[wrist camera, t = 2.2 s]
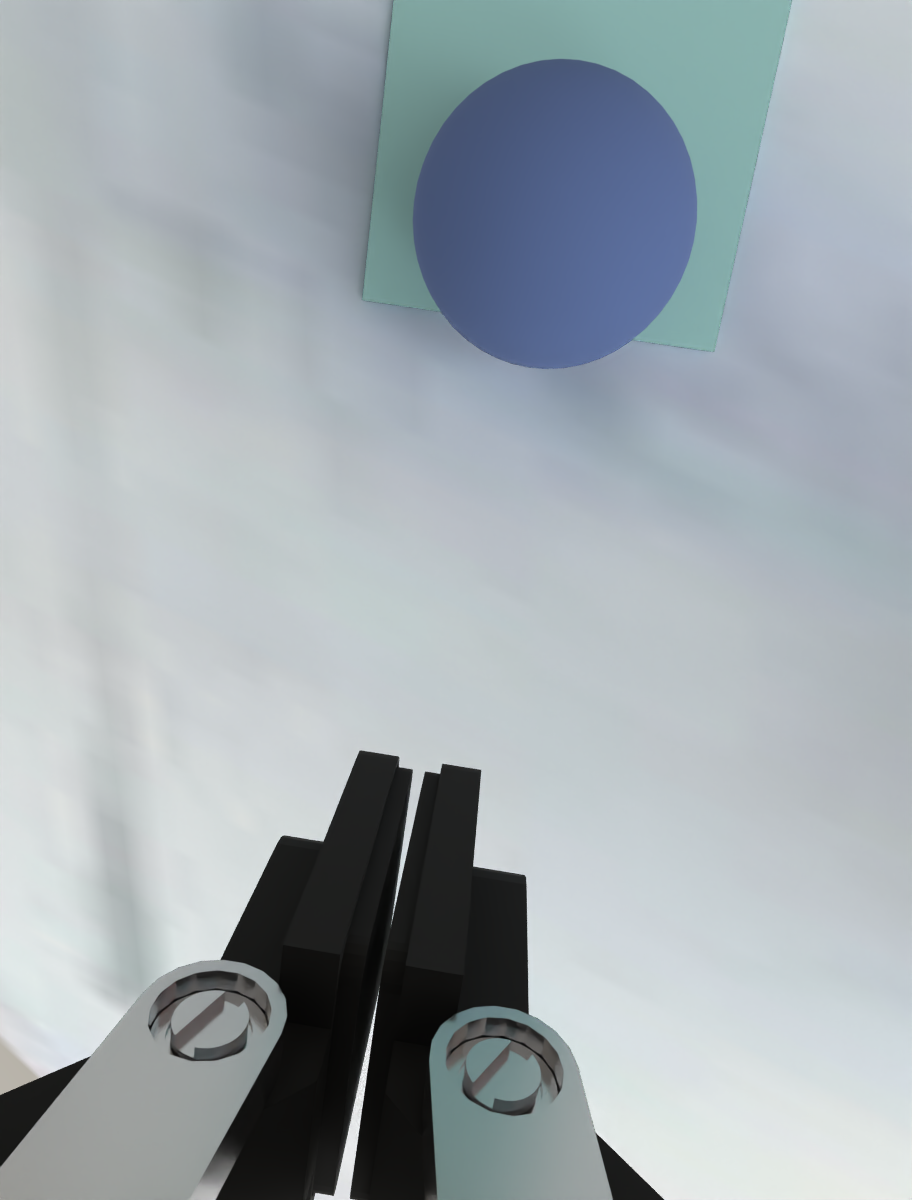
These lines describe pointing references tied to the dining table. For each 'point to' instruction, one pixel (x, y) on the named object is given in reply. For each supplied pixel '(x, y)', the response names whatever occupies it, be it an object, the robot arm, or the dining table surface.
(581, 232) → the ball
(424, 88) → the panel
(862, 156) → the dining table surface
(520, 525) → the dining table surface
